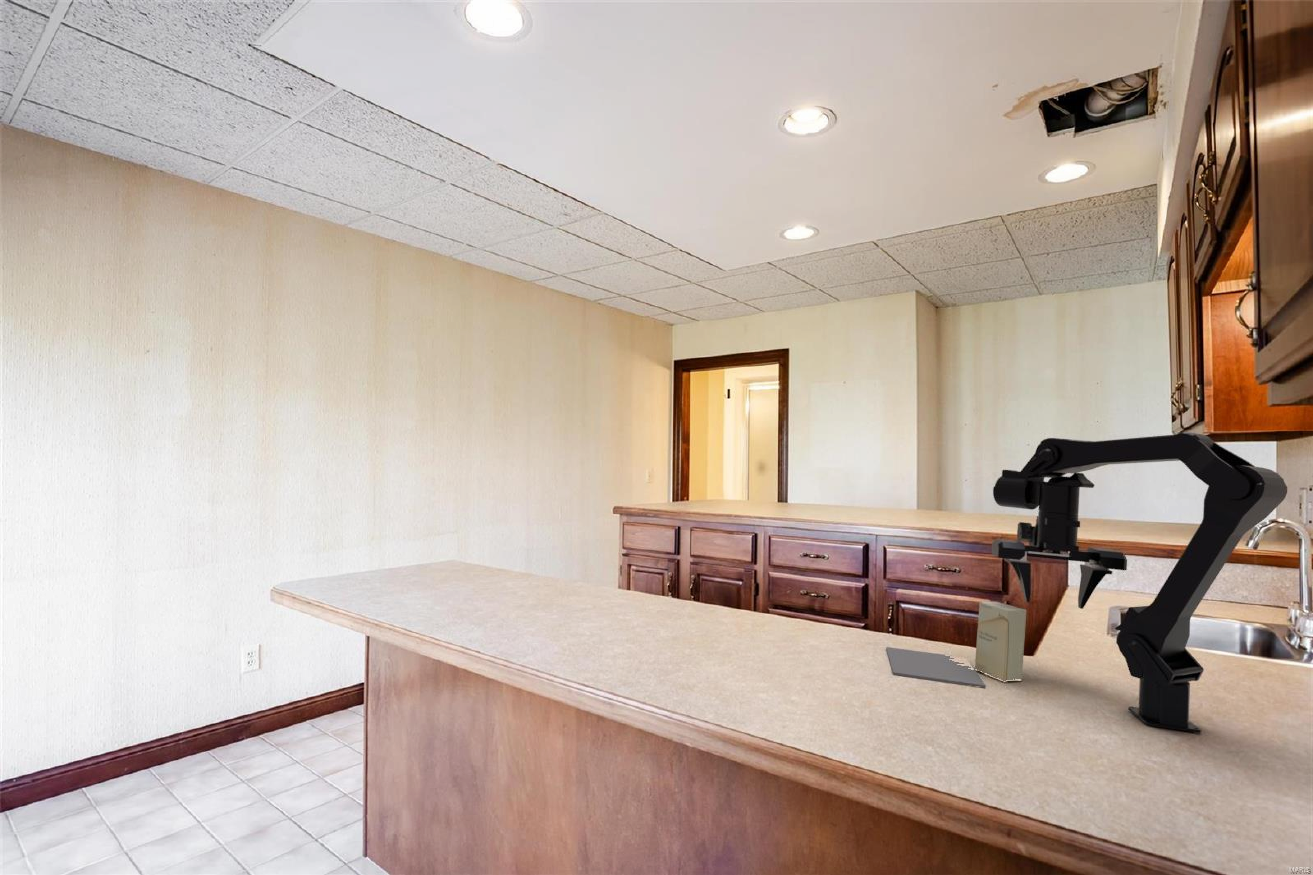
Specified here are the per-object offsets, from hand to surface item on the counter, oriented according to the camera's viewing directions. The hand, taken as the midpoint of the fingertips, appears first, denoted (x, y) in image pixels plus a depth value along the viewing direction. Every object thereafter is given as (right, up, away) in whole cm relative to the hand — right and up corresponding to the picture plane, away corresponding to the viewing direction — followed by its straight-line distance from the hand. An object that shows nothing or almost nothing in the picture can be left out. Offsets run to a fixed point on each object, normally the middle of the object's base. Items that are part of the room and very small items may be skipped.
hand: (1053, 605), depth 107 cm
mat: (-19, -12, +5) cm, 23 cm away
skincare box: (-8, -13, +2) cm, 16 cm away
